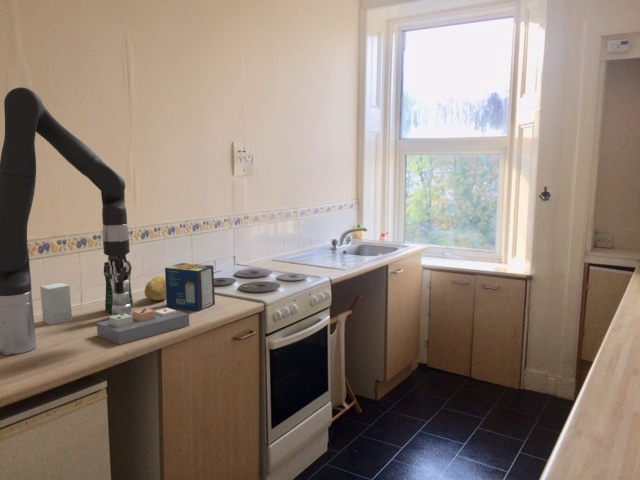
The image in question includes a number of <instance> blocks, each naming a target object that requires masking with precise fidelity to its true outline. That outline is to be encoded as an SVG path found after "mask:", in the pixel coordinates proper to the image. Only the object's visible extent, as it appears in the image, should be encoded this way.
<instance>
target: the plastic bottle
mask: <svg viewBox="0 0 640 480" xmlns="http://www.w3.org/2000/svg"><path fill="white" fill-rule="evenodd" d="M110 282H111V286H112V292H113V305H112V313H111V314H112V316H114V315H119V314H123V313H125V314H128V315H132V312H133V311H132V309H133V308H131V304H130V299H129V276H128V279H127V280H125V281H123V289H124V292H123V293H122V294H116V293H115V288H114V282H113V279H110Z"/></svg>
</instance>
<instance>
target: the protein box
mask: <svg viewBox="0 0 640 480" xmlns="http://www.w3.org/2000/svg"><path fill="white" fill-rule="evenodd" d="M164 274H165V275H164V276H165V279H166V297H165V302H166V307H167V308H171V309H182V310H190V311H195V312H200V311H202V310H205V309H208V308H209V307H211V306H214V305H216V304H215V303H216V299H215V297H216V296H215V295H216V294H215V277H214V275H215V274H214V265H212V264H209V265H208V264H199V263H198V264H197V263H185V262H181V263H177V264H174V265H169V266H165V267H164Z"/></svg>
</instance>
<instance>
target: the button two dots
mask: <svg viewBox="0 0 640 480" xmlns="http://www.w3.org/2000/svg"><path fill="white" fill-rule="evenodd" d="M130 315H131V314H130ZM130 315H128V314H125V313H123V314H119V315H110V316H109V319H108V320H109V321H110V325H111V326H114V327H116V328H119V327H123V326H127V325H131V324H133V322H132V316H130Z"/></svg>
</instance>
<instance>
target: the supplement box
mask: <svg viewBox="0 0 640 480" xmlns="http://www.w3.org/2000/svg"><path fill="white" fill-rule="evenodd" d="M70 286H71V285H69V284H66V283H63V282H57V283H51V284H45V285H41V286H40V287H39V289H40V300H41V309H42V310H41V312H42V313H41V314H42V321H43V322H45V323H47V324H48V325H51V326H52V325H58V324H62V323H67V322H71V321H73V316H72V315H73V314H72V302H71V289H70Z"/></svg>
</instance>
